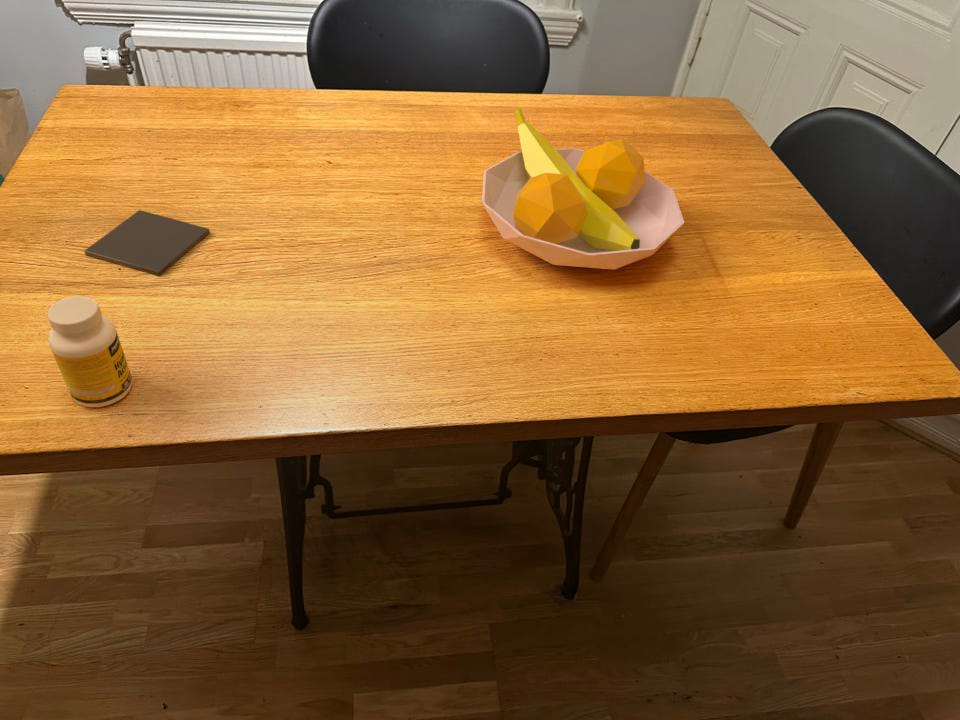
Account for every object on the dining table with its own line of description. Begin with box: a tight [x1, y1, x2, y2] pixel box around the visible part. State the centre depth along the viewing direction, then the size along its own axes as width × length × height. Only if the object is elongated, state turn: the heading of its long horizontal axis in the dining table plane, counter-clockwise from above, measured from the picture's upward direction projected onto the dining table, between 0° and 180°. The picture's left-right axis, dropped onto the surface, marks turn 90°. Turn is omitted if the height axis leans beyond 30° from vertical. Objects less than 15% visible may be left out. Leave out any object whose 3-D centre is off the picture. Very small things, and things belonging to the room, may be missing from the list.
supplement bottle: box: [46, 295, 133, 408], centre depth 63 cm, size 5×5×10 cm
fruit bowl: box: [481, 108, 686, 271], centre depth 91 cm, size 28×27×11 cm
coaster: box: [83, 209, 211, 277], centre depth 84 cm, size 10×10×1 cm
